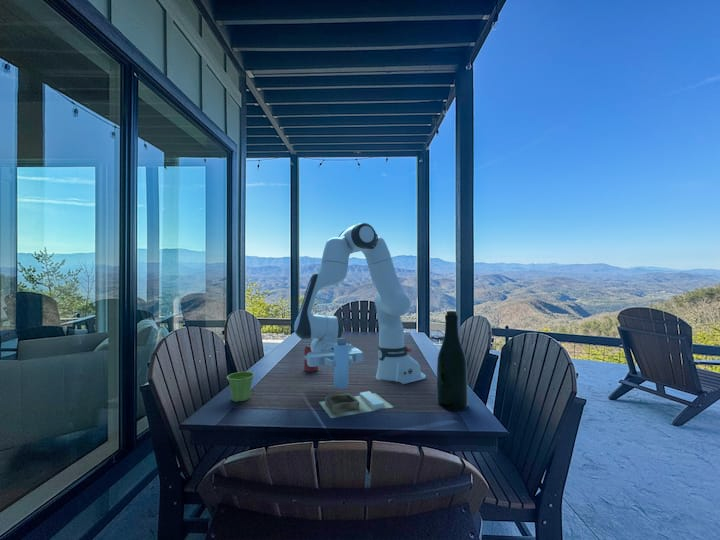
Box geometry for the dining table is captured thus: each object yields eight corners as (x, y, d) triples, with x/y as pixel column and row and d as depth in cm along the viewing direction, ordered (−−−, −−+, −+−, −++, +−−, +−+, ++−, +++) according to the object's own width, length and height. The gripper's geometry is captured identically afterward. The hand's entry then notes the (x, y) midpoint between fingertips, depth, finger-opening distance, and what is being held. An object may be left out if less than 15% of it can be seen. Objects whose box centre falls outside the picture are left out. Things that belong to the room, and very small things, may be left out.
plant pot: (237, 406, 111) (238, 380, 111) (221, 400, 116) (221, 376, 116) (259, 397, 119) (259, 374, 119) (242, 392, 124) (243, 370, 124)
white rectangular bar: (369, 395, 118) (369, 391, 118) (384, 407, 107) (384, 402, 107) (359, 396, 117) (359, 392, 117) (373, 409, 105) (373, 404, 106)
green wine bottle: (446, 397, 119) (445, 308, 120) (473, 405, 112) (472, 311, 112) (430, 405, 112) (430, 310, 113) (458, 414, 104) (457, 313, 105)
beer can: (315, 372, 150) (315, 347, 151) (302, 371, 152) (302, 346, 152) (319, 368, 157) (319, 344, 157) (307, 367, 158) (307, 343, 159)
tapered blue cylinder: (345, 383, 111) (346, 336, 111) (350, 387, 106) (351, 339, 107) (331, 384, 109) (332, 337, 109) (336, 389, 104) (336, 340, 105)
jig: (375, 396, 120) (375, 386, 120) (393, 410, 107) (393, 399, 107) (318, 405, 112) (318, 394, 112) (331, 422, 99) (331, 410, 99)
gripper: (302, 347, 116) (311, 356, 103) (354, 343, 124) (369, 351, 111) (302, 364, 116) (311, 375, 103) (354, 359, 124) (369, 369, 111)
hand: (342, 362), depth 107 cm, fingers closed on tapered blue cylinder, 5 cm apart
